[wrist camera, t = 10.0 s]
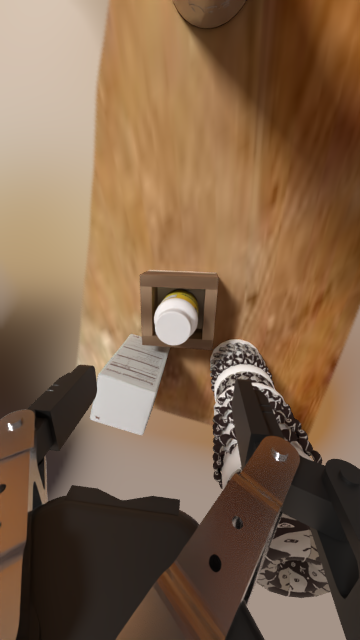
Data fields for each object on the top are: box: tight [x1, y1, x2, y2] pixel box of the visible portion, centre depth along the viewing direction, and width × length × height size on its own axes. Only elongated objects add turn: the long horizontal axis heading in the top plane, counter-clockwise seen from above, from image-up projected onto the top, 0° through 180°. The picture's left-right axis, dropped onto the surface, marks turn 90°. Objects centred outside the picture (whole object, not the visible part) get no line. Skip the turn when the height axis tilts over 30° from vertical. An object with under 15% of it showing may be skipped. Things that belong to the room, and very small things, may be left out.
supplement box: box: [90, 334, 170, 435], centre depth 32 cm, size 7×7×13 cm
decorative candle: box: [210, 339, 331, 598], centre depth 24 cm, size 9×9×25 cm
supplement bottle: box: [154, 289, 199, 345], centre depth 28 cm, size 5×5×10 cm
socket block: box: [140, 270, 219, 350], centre depth 31 cm, size 10×10×6 cm
